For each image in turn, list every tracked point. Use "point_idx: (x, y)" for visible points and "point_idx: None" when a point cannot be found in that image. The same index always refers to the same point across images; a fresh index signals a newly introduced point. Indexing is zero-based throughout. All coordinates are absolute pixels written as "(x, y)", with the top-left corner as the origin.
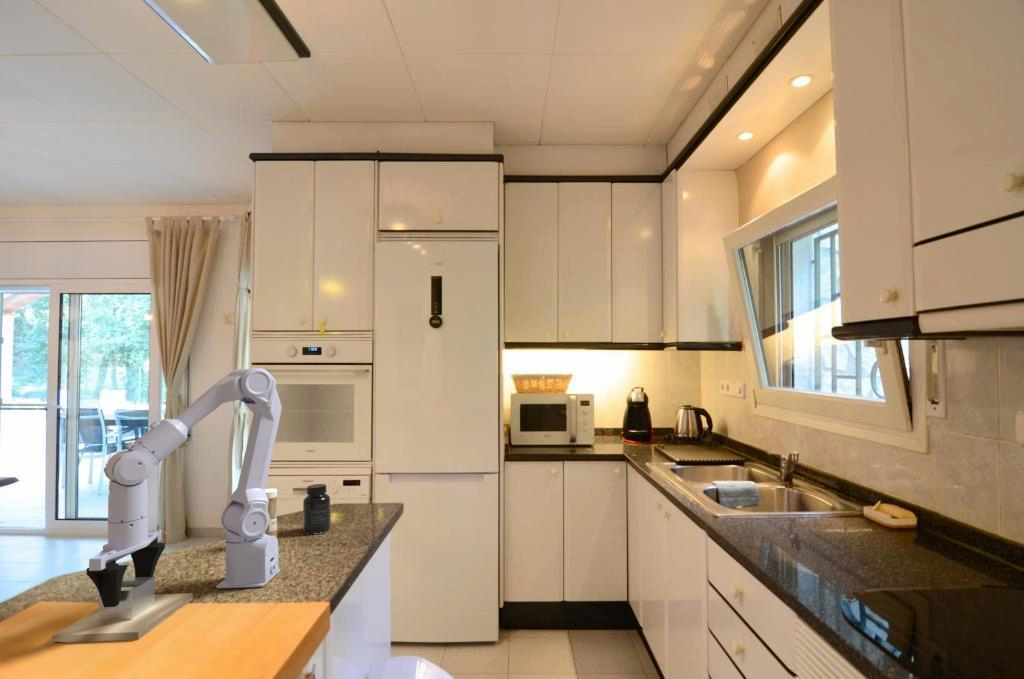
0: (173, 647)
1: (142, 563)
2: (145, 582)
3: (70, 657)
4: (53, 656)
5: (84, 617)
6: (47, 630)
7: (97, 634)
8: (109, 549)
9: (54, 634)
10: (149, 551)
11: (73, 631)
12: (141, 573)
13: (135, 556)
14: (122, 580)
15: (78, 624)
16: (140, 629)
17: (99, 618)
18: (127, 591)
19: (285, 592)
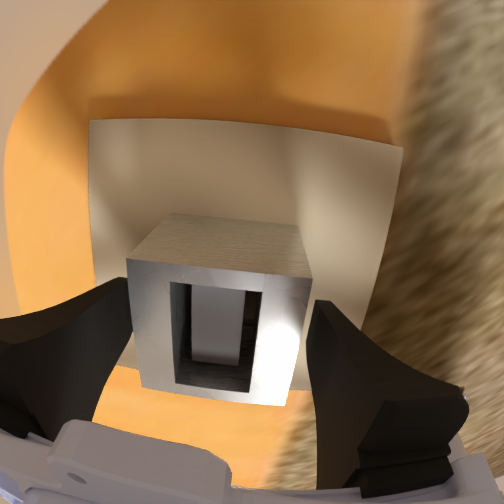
0: (102, 412)
1: (332, 398)
2: (223, 399)
3: (42, 240)
4: (43, 190)
5: (212, 126)
6: (195, 22)
7: (94, 266)
8: (21, 490)
9: (94, 120)
10: (327, 482)
11: (105, 174)
12: (322, 356)
13: (356, 402)
14: (269, 292)
15: (155, 148)
16: (121, 363)
17: (168, 216)
18: (140, 371)
19: (303, 489)
